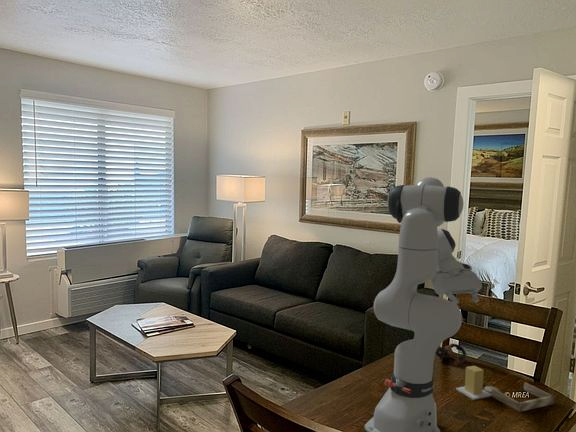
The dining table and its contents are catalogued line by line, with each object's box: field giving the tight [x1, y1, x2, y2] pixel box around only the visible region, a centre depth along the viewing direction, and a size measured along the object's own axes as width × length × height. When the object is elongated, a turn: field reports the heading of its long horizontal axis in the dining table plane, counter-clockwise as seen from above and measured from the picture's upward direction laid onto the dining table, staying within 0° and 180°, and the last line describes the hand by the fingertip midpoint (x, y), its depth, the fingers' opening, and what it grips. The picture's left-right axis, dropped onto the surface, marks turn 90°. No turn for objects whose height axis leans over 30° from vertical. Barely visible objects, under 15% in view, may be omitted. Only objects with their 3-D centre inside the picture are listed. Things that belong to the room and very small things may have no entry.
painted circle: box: [483, 385, 501, 394], centre depth 155 cm, size 5×5×1 cm
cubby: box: [491, 382, 556, 413], centre depth 148 cm, size 16×11×2 cm
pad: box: [455, 385, 492, 401], centre depth 153 cm, size 8×8×1 cm
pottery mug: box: [435, 343, 467, 367], centre depth 179 cm, size 12×10×8 cm
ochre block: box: [464, 365, 485, 395], centre depth 152 cm, size 4×4×8 cm
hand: (466, 302), depth 161 cm, fingers open, 8 cm apart
